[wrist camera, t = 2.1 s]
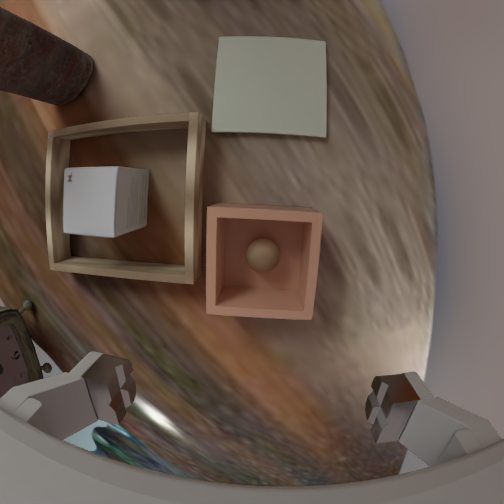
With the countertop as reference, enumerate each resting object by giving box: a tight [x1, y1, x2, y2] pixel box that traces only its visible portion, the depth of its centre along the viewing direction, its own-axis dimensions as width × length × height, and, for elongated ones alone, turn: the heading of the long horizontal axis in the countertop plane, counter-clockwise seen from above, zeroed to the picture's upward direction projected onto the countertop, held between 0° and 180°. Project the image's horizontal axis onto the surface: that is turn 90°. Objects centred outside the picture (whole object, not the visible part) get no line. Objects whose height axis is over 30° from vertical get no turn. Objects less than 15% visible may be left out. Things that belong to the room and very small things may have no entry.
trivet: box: [211, 36, 327, 138], centre depth 25 cm, size 11×11×1 cm
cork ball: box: [245, 238, 280, 273], centre depth 27 cm, size 3×3×3 cm
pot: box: [206, 203, 323, 320], centre depth 26 cm, size 9×9×6 cm
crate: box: [46, 112, 206, 284], centre depth 27 cm, size 16×18×4 cm
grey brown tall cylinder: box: [0, 7, 93, 105], centre depth 16 cm, size 8×7×20 cm
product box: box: [63, 166, 149, 238], centre depth 25 cm, size 6×6×7 cm
